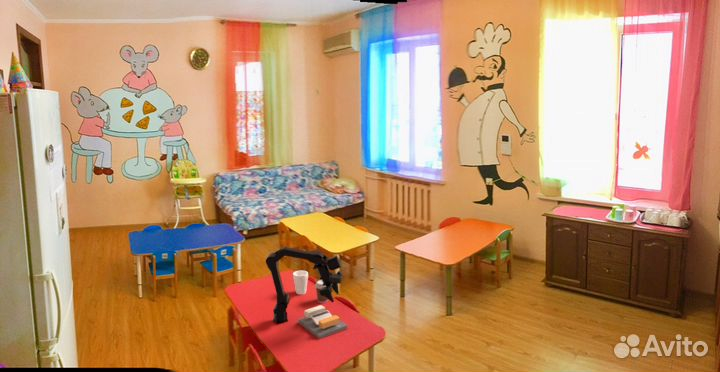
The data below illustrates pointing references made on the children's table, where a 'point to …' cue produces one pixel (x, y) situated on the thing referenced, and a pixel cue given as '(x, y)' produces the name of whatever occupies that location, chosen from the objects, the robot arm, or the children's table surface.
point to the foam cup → (300, 281)
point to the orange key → (329, 321)
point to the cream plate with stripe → (320, 316)
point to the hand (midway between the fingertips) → (335, 297)
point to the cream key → (314, 311)
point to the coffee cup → (318, 288)
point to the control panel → (320, 332)
